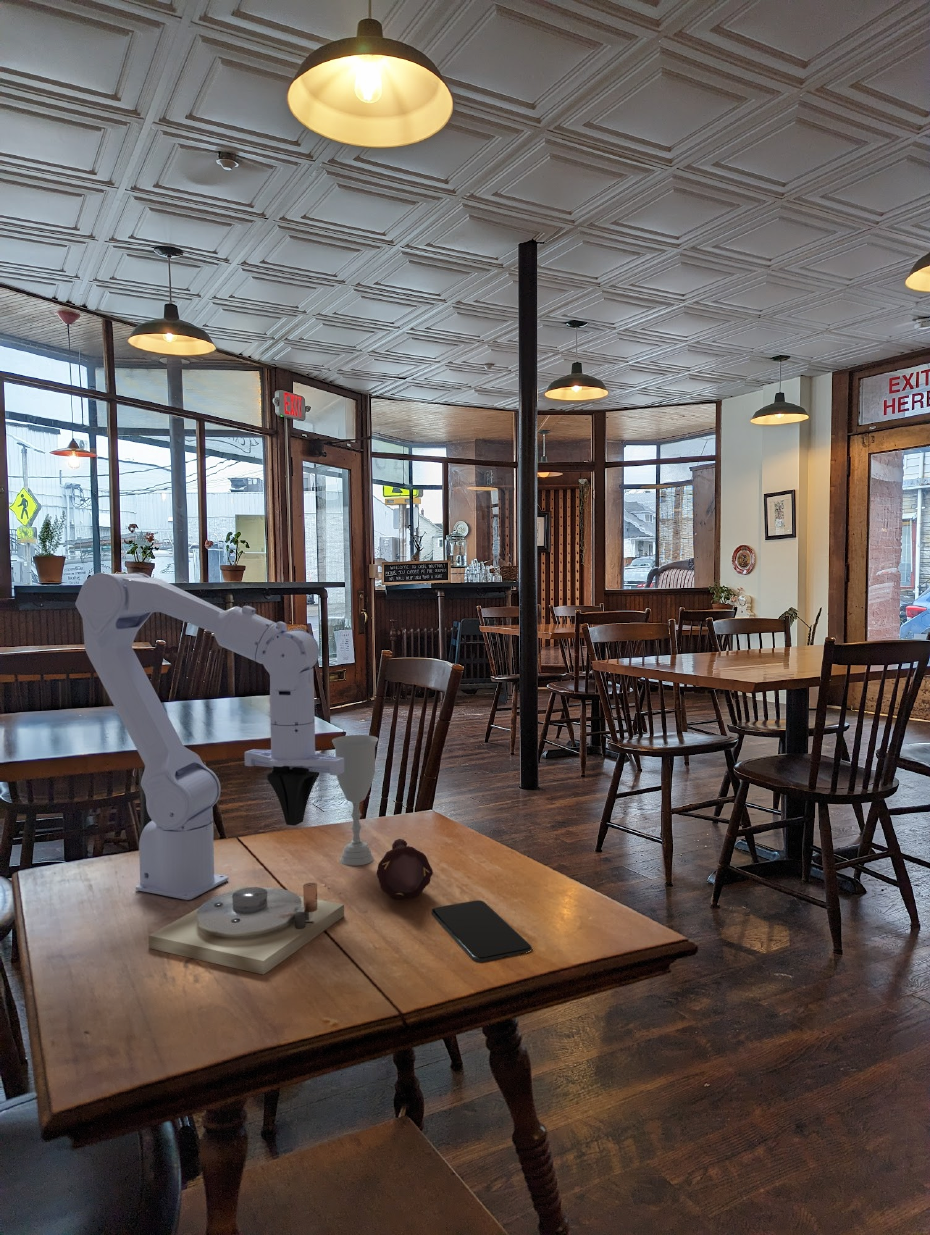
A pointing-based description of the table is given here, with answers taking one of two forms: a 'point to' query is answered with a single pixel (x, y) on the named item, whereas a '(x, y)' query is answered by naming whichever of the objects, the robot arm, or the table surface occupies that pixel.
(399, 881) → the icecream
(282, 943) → the post base
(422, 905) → the table surface
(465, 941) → the smartphone
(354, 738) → the chalice
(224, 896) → the grey turntable
